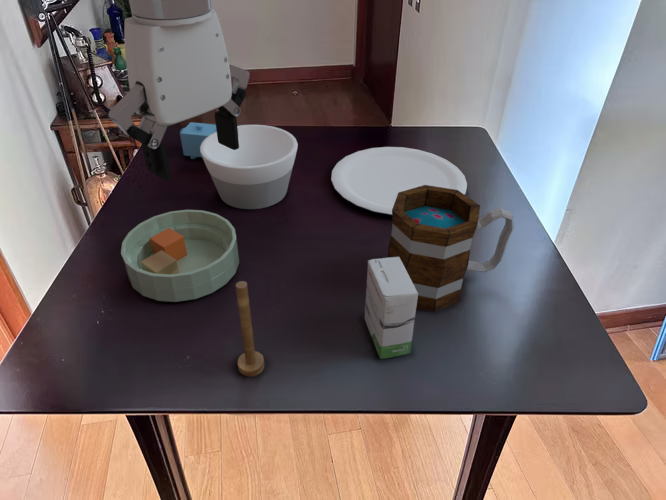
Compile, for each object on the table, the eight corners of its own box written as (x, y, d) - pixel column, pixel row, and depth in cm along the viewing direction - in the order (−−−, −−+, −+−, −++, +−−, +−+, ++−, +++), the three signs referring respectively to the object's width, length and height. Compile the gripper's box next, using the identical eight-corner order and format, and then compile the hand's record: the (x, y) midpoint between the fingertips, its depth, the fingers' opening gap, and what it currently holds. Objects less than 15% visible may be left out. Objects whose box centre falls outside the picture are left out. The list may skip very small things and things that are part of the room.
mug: (391, 314, 80) (401, 236, 71) (376, 260, 91) (383, 186, 82) (513, 306, 82) (537, 229, 73) (484, 254, 93) (502, 181, 83)
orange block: (168, 266, 87) (163, 247, 85) (154, 256, 89) (149, 238, 87) (187, 255, 90) (183, 236, 87) (173, 246, 92) (169, 227, 89)
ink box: (411, 354, 74) (421, 294, 67) (378, 360, 73) (384, 299, 66) (393, 312, 80) (400, 253, 73) (362, 317, 80) (366, 257, 72)
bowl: (241, 161, 119) (236, 117, 112) (315, 181, 112) (314, 135, 105) (187, 201, 105) (178, 153, 98) (268, 226, 98) (264, 177, 92)
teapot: (236, 151, 123) (233, 121, 118) (227, 163, 118) (224, 132, 113) (188, 146, 124) (183, 117, 119) (178, 158, 119) (172, 128, 115)
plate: (464, 159, 121) (465, 152, 120) (468, 229, 99) (469, 222, 98) (342, 147, 125) (342, 140, 124) (318, 212, 102) (318, 205, 101)
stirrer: (250, 381, 70) (240, 299, 60) (232, 367, 72) (220, 285, 62) (269, 365, 72) (262, 283, 63) (252, 352, 74) (242, 271, 64)
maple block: (159, 291, 82) (155, 272, 80) (145, 280, 84) (140, 261, 82) (180, 278, 85) (176, 260, 82) (166, 268, 87) (161, 249, 84)
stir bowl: (173, 322, 78) (166, 293, 74) (108, 271, 87) (98, 243, 84) (261, 265, 89) (258, 237, 85) (195, 225, 98) (190, 198, 95)
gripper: (215, -19, 56) (232, 127, 67) (63, 9, 46) (111, 177, 56) (263, -8, 53) (272, 145, 63) (109, 24, 42) (151, 201, 53)
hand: (196, 160), depth 60 cm, fingers open, 9 cm apart
